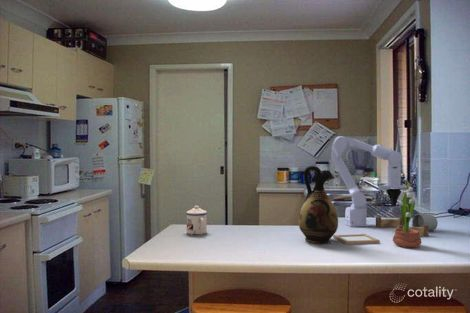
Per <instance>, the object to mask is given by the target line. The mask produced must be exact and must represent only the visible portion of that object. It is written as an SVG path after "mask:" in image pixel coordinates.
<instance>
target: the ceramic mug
mask: <svg viewBox="0 0 470 313" xmlns="http://www.w3.org/2000/svg"><path fill="white" fill-rule="evenodd" d="M411 219H412V220H411V227H422V225H428V226H429V229H428V232H429V231H431V232H432V231H435V230H436V229H437V228H438V219H437V218H436V216H434V215H432V214H429V213H428V214H427V213H425V214H424V213H416V214H414V215H413V217H412V218H411Z"/></svg>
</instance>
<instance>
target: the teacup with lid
mask: <svg viewBox="0 0 470 313" xmlns="http://www.w3.org/2000/svg"><path fill="white" fill-rule="evenodd" d="M185 214H186V233H187V235H193V234H199V235H204V234H206V233H207V226H208V225H207V224H208V222H207V215H208V212H207V210H204V209H202V208H200V205H194V207H193V208H191V209H190V210H187V211H186V212H185ZM203 233H204V234H203Z"/></svg>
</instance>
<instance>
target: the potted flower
mask: <svg viewBox="0 0 470 313" xmlns="http://www.w3.org/2000/svg"><path fill="white" fill-rule="evenodd" d="M406 183H407V184H406ZM404 184H406V186H407V187H406V188H405V187H404V188H403V189H406V190H401V194H400V195H403V196H402V197H401V200H400V201H399V206H400V215H401V216H400V217H402V220H403V223H404V228H399V229H397V228H395V229H394V235H393V236H392V241H393V243H394V244H395V245H396V246H398V247H401V248H409V249H413V248H418V247H420V246H421V245H422V237H421V236H419V233H420V232H419V231H418V230H414V229H409V227H410V222H411V221H412V220H411V219H412V218H413V217H412V216H414V212H415V211H414V210H415V206H416V205H415V204H416V202H415V200H414V199H413V197H415V196H416V194H415V192H414V188H413V187H412V186H411V184H410V182H408V180H406V181H405V182H404Z"/></svg>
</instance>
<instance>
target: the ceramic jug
mask: <svg viewBox="0 0 470 313" xmlns="http://www.w3.org/2000/svg"><path fill="white" fill-rule="evenodd" d="M310 172H315V173H316V174H314V176H313V177H312V179H311V182H312V183H315V184H314V187H313V189H312V186H311V184H310V178H309V173H310ZM334 179H335V175H333V173H332V172H331V171H330V170H327V169H324V170H323V171H321V169H320V168H319V167H318V166H316V165H309V166H307V167H306V168H305V169H304V172H303V180H304V183H305V187H306V191H307V193H306V196H305V199H304V203H303V204H302V206H301V209H300V212H299V214H298V222H297V223H298V227H299V230H300V231H301V233H302V235H304V236H305V238H304V239H305V241H306V242H308V243H312V244H316V245H317V244H318V245H323V244H330V241H331V238H333V235H336V232H337V231H338V228H339V218H338V213H337V209H336V208H335V205H334V203H333V201H332V200H331V199H330V196H329V194H327V191H326V190H325V187H324V184H325V183H327V182H329V181H330V180H331V181H332V180H334Z"/></svg>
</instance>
